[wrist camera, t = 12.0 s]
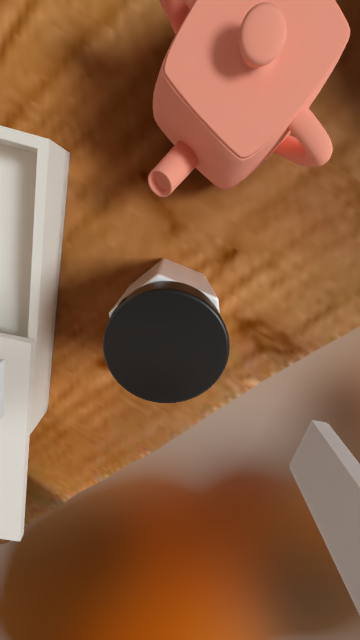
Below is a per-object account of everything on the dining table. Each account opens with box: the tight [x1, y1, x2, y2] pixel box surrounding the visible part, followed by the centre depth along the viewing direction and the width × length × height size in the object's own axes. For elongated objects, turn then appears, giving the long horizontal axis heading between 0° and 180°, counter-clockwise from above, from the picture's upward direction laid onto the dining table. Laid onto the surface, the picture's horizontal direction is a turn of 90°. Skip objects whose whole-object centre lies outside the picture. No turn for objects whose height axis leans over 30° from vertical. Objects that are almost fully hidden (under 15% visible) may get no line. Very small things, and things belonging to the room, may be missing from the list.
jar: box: [103, 258, 229, 403], centre depth 22 cm, size 9×8×12 cm
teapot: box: [148, 0, 350, 197], centre depth 17 cm, size 14×12×10 cm
